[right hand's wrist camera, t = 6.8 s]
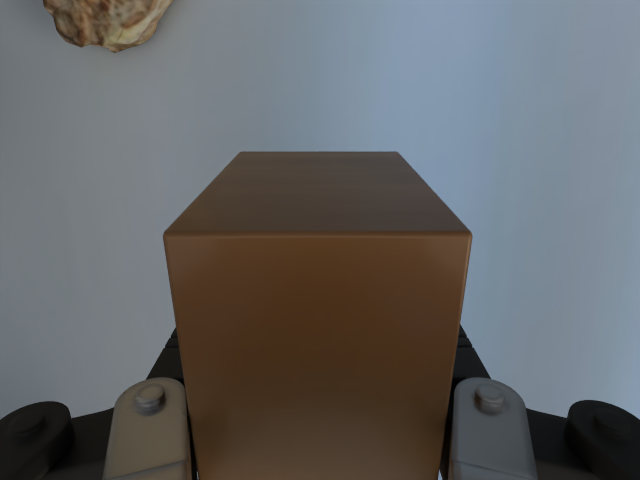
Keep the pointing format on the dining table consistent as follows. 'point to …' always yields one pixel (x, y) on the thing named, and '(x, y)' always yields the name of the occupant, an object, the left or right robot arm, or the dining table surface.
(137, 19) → the stone
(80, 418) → the right robot arm
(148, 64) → the dining table surface
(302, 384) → the post
